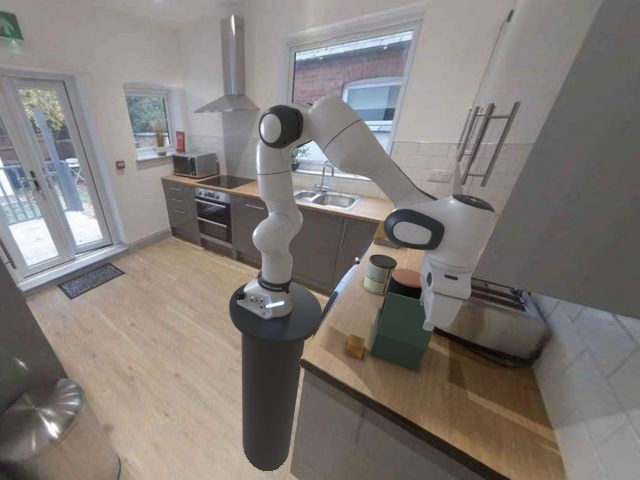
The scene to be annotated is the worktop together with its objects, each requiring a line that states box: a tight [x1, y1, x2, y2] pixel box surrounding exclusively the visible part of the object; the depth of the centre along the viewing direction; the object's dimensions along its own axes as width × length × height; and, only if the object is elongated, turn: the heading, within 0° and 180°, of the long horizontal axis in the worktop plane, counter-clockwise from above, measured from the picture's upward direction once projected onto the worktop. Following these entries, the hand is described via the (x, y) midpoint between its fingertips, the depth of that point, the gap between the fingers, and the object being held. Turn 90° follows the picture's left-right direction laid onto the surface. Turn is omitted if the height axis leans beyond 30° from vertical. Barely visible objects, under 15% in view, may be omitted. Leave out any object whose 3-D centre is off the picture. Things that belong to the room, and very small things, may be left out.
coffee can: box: [362, 253, 398, 295], centre depth 110 cm, size 10×10×14 cm
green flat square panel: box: [377, 292, 436, 351], centre depth 72 cm, size 14×13×1 cm
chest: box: [369, 307, 426, 372], centre depth 82 cm, size 14×13×9 cm
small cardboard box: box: [372, 219, 399, 249], centre depth 160 cm, size 35×14×6 cm, turn 146°
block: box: [345, 333, 366, 360], centre depth 81 cm, size 4×4×4 cm
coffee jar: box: [381, 268, 422, 309], centre depth 93 cm, size 11×11×18 cm
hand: (424, 315), depth 63 cm, fingers open, 8 cm apart
